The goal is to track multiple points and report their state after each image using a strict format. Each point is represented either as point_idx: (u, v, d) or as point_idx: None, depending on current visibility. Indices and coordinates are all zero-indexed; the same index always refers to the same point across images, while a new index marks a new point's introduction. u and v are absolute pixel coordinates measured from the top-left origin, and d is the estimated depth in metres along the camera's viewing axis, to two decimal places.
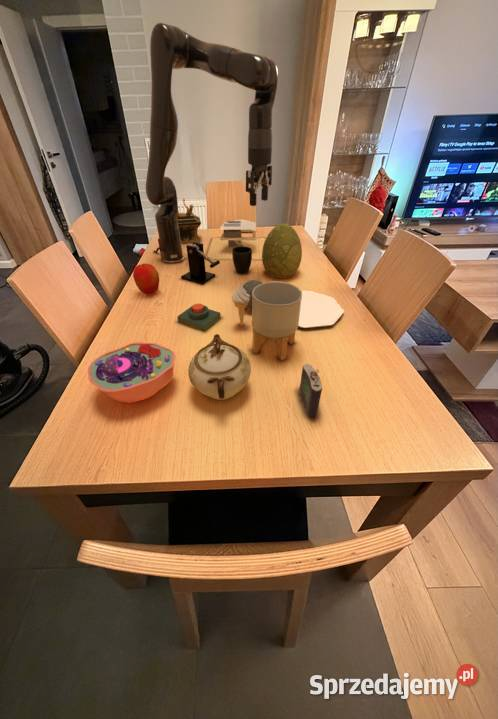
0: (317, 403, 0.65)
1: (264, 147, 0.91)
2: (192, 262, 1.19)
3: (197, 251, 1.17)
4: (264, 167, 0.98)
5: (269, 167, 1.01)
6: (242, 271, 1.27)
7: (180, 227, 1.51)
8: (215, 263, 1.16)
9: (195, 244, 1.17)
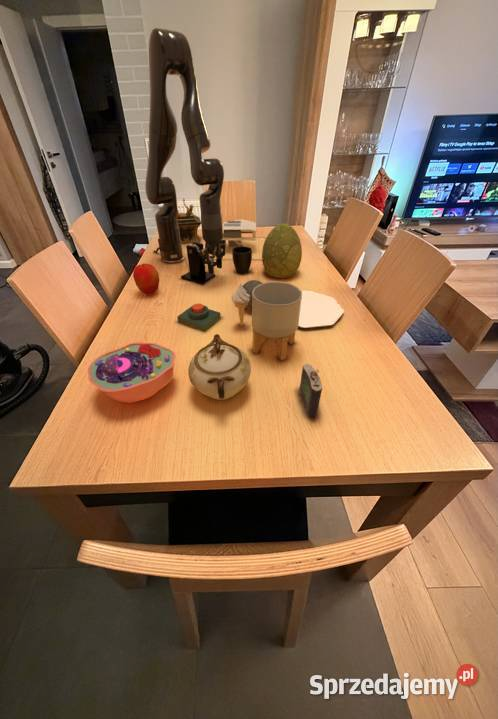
0: (317, 403, 0.65)
1: (214, 228, 1.05)
2: (192, 262, 1.19)
3: (197, 251, 1.17)
4: (217, 241, 1.12)
5: (223, 241, 1.15)
6: (242, 271, 1.27)
7: (180, 227, 1.51)
8: (215, 263, 1.16)
9: (195, 244, 1.17)
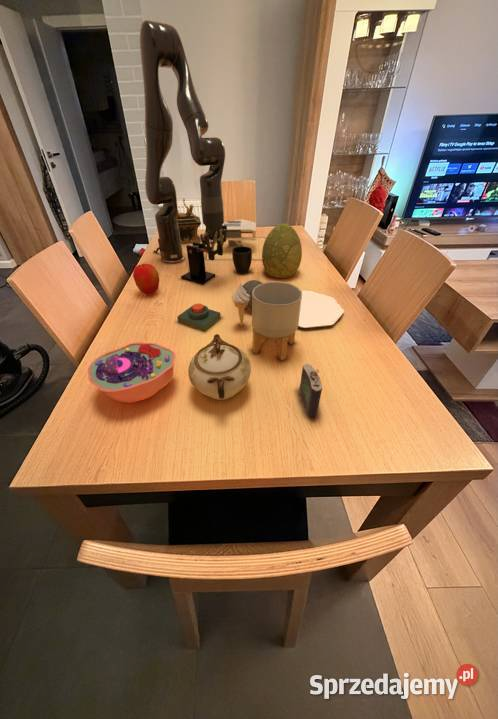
0: (317, 403, 0.65)
1: (215, 212, 1.01)
2: (192, 262, 1.19)
3: (197, 249, 1.16)
4: (218, 226, 1.08)
5: (224, 226, 1.11)
6: (242, 271, 1.27)
7: (180, 227, 1.51)
8: (215, 250, 1.12)
9: (194, 245, 1.18)
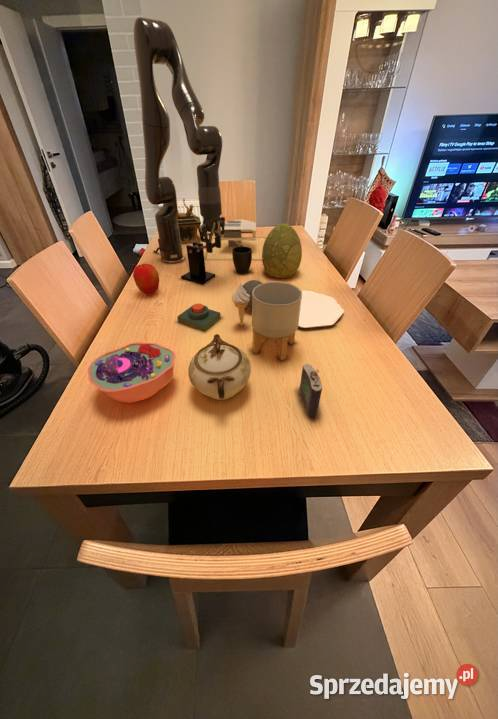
0: (317, 403, 0.65)
1: (212, 202, 0.99)
2: (192, 262, 1.19)
3: None
4: (216, 217, 1.06)
5: (222, 218, 1.10)
6: (242, 271, 1.27)
7: (180, 227, 1.51)
8: (213, 243, 1.11)
9: None
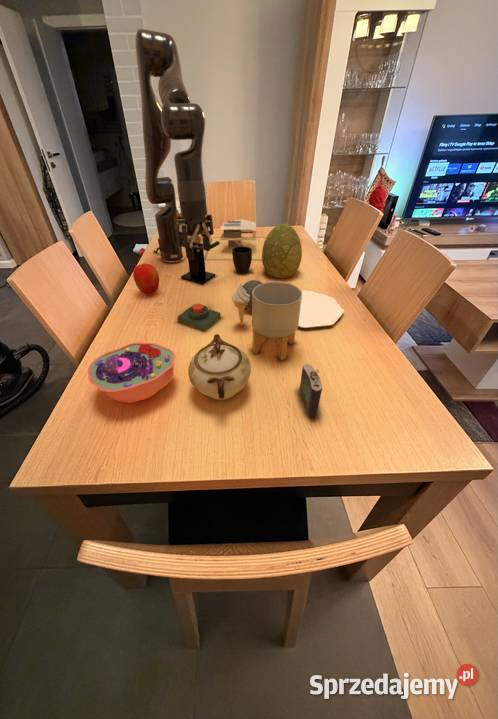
0: (317, 403, 0.65)
1: (195, 199, 0.81)
2: (192, 262, 1.19)
3: None
4: (200, 218, 0.88)
5: (208, 216, 0.91)
6: (242, 271, 1.27)
7: None
8: (213, 243, 1.11)
9: None
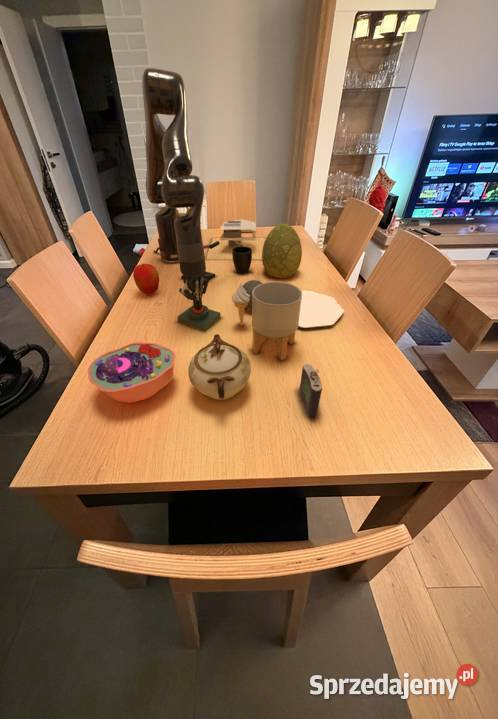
0: (317, 403, 0.65)
1: (194, 261, 0.83)
2: None
3: None
4: None
5: (207, 276, 0.95)
6: (242, 271, 1.27)
7: None
8: (213, 243, 1.11)
9: None
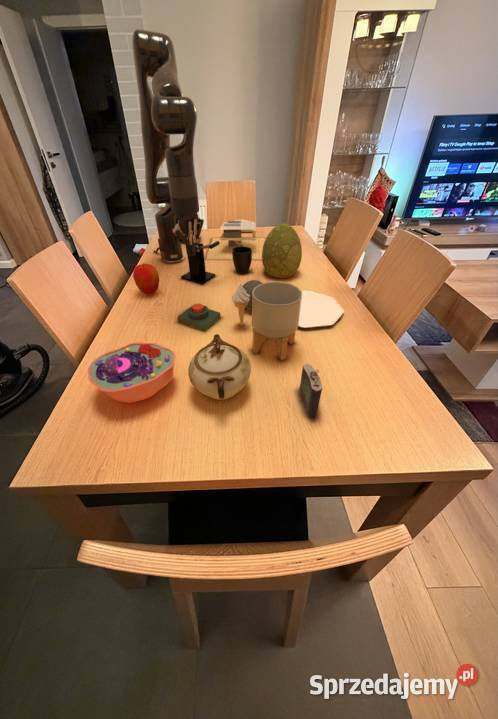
0: (317, 403, 0.65)
1: (186, 196, 0.79)
2: (192, 262, 1.19)
3: None
4: (192, 215, 0.86)
5: (200, 220, 0.90)
6: (242, 271, 1.27)
7: None
8: (213, 243, 1.11)
9: None
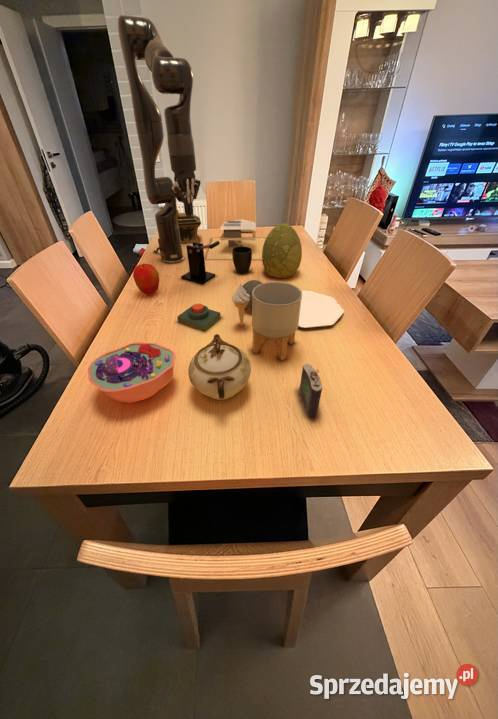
0: (317, 403, 0.65)
1: (184, 154, 0.86)
2: (192, 262, 1.19)
3: None
4: (190, 174, 0.93)
5: (197, 181, 0.97)
6: (242, 271, 1.27)
7: (180, 227, 1.51)
8: (213, 243, 1.11)
9: None
